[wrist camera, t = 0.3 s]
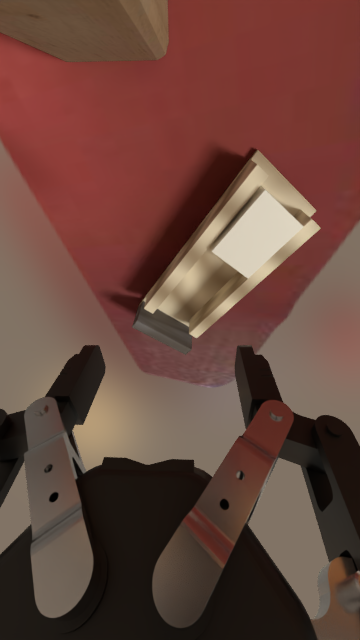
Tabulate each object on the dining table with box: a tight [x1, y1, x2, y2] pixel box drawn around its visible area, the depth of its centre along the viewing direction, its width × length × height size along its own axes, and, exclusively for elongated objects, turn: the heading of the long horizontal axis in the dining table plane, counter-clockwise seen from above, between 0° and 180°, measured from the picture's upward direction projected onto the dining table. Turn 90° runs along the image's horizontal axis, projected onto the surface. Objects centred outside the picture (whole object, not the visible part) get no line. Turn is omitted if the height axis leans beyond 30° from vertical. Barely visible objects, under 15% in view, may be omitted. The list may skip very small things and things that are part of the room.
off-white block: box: [211, 186, 303, 278], centre depth 27 cm, size 8×6×4 cm
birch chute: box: [132, 150, 320, 355], centre depth 31 cm, size 26×10×6 cm, turn 145°
